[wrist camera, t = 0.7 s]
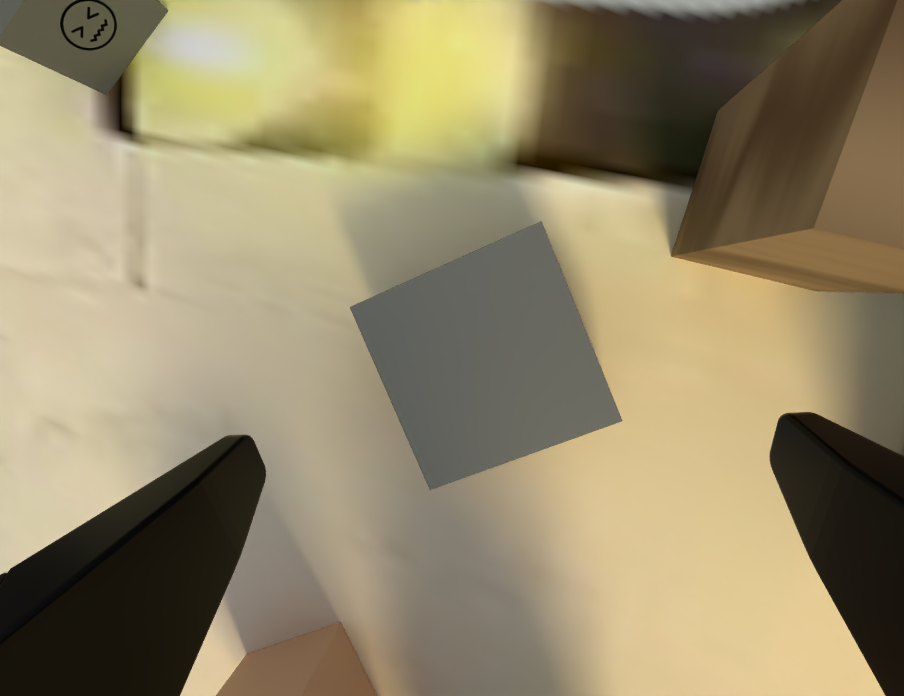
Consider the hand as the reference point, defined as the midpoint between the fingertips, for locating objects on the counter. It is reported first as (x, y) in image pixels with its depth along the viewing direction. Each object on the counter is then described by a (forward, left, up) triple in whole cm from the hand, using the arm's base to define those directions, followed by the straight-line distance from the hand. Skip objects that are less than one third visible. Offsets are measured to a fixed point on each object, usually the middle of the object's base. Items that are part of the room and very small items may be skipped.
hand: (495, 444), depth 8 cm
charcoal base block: (0, +1, -14) cm, 14 cm away
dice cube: (+22, +11, -14) cm, 29 cm away
